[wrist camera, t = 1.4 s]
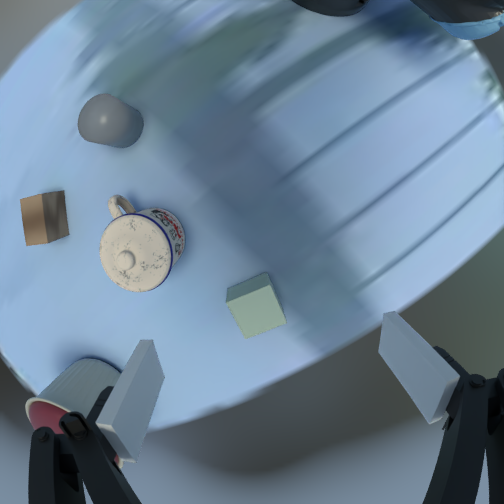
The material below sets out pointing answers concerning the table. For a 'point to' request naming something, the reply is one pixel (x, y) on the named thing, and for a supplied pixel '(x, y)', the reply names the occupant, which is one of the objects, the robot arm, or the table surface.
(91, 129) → the grey rounded piece
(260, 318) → the sage green block
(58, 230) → the walnut block
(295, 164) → the table surface
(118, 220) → the teacup with lid
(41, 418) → the canister
